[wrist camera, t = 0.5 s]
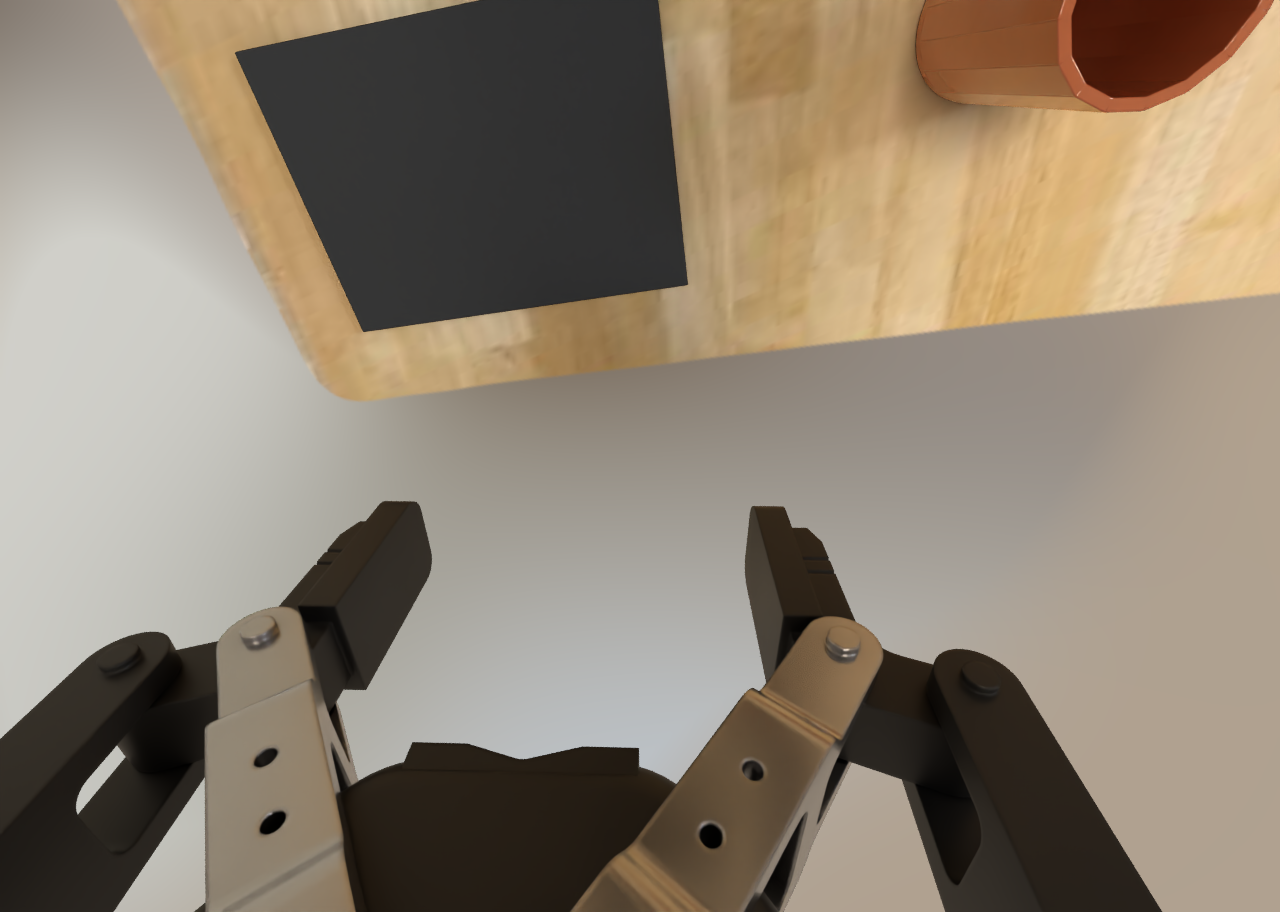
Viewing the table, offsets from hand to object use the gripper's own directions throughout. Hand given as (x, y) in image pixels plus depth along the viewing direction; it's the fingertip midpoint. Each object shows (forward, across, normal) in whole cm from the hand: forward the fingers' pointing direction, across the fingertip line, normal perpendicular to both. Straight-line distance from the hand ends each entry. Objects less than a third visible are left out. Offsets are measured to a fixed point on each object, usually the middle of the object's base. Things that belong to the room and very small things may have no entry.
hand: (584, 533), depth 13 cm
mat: (+22, +8, -7) cm, 24 cm away
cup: (+21, -16, -13) cm, 30 cm away
